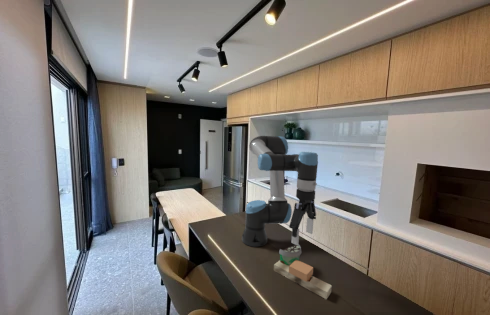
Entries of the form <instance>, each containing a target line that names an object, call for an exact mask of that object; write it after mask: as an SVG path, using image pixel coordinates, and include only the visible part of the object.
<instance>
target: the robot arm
mask: <svg viewBox="0 0 490 315" xmlns="http://www.w3.org/2000/svg"><path fill="white" fill-rule="evenodd" d="M288 149H289V143H288V140H287V139H286V137H284V136H277V135H275V136H273V135H258V136H256V137H254V138H252V140H250V142H249V150H250V152H251V154H253V155H254V156H256V158H257V168H258V170H259V171H265V172H269V186H270V187H269V190H270V193H269V194H270V196H269V197H270V198H269V199H268V202H266V201H265V200H260V199H256V200H251V201H249V202H248V203H247V204H246V207H245V226H244V229H243V233H242V235H241V241H242V243H243V244H244V245H247V246H249V247H252V248H253V247H257V248H258V247H262V246H265V245H267V243H268V236H267V231H266V225H270V224H273V225H274V224H275V225H277V224H279V225H280V224H288V223H289V222H290V223H289V226H288V227H289V228H290V229H291V244H293V245H294V246H295V245H298V244H299V240H300V228H299V227H300V225H301V223H302V220H303V217H304V215H306V214H307V218H306V227H305V228H306V229H305V233H308V234H311V235H312V234H313V231H314V221H315V220H317V217H316V216H317V212H316V205H315V199H316V188H317V185H318V183H317V177H318V164H319V160H318V158H319V155H318V153H316V152H312V151H311V152H310V151H301V152H299V153H298V154H295V153H293V154H288V152H289V150H288ZM284 172H297V176H296V178H297V181H296V194H295V197H296V198H297V199H298V203H297V202H295V203H294V208H293V211H292V205H291V204H290V203H288V199H287V198H286V197H285V196H286V195H285V193H286V192H285V178H284V177H285V176H284V175H285V174H284Z"/></svg>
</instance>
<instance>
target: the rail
mask: <svg viewBox="0 0 490 315" xmlns="http://www.w3.org/2000/svg"><path fill="white" fill-rule="evenodd" d="M289 266H290V265H286V264H283V263H281V262H280V259H279V260H278V261H276V263H274V264H273V271H274V272H276V273H277V274H279V275H282V276H283V277H284V276H285V278H286V279H288V280H289V281H291V282H294V283H295V284H296V285H297V284H298V285H299V286H300V287H303V288H304V289H306V290H308V291H310V292H312V293H313V294H315V295H318V296H320V297H322V299H323V298H324V300H328V298H329V296H330V295H331V293H332V287H333V286H332V285H333V284H332V285H331V284H330V283H327V282H325V281H323V280H321V278H317V277H315V276H313V275H312V276H311V277H310V281H304V280H302V279H300V278H298V277H296V276H294V275H293V274H291V273H289Z"/></svg>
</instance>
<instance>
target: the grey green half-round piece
mask: <svg viewBox="0 0 490 315" xmlns="http://www.w3.org/2000/svg"><path fill="white" fill-rule="evenodd" d="M278 254H279V260H280V262H281V263H283V264H286V265H291V264H292V263H293V262H294V261H295V260H298V261H300V256H301V255H302V247H301V245H300V244H299V243H298V245H295V244H294V245H291V246H288V247H286V248H284V249H281V248H279V251H278Z"/></svg>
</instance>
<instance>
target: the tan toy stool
mask: <svg viewBox="0 0 490 315" xmlns="http://www.w3.org/2000/svg"><path fill="white" fill-rule="evenodd" d="M289 273H291V274H293V275H294V276H296V277H298V278H300V279H302V280H304V281H310V277H311V276H313V275H314V267H313V266H311V265H309V264H308V263H305V262H303V261H301V260H299V261H298V260H295V261H294V262H293V263H292V264H291V265H290V266H289Z"/></svg>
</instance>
